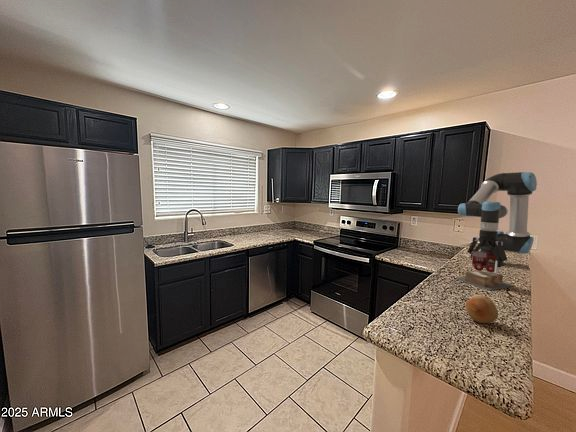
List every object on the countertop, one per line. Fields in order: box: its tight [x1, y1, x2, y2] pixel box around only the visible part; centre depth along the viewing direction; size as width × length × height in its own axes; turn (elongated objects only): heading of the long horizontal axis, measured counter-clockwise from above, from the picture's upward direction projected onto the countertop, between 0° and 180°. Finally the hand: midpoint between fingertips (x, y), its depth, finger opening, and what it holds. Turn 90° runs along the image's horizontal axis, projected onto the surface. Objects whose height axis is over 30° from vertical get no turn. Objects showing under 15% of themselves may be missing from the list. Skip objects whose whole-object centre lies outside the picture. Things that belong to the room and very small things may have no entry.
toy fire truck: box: [470, 250, 497, 273], centre depth 133 cm, size 7×12×10 cm, turn 49°
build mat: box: [454, 275, 515, 291], centre depth 136 cm, size 20×18×1 cm
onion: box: [464, 295, 499, 324], centre depth 93 cm, size 10×10×10 cm
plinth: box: [465, 269, 504, 287], centre depth 134 cm, size 14×10×5 cm
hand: (484, 269), depth 133 cm, fingers closed on toy fire truck, 11 cm apart
